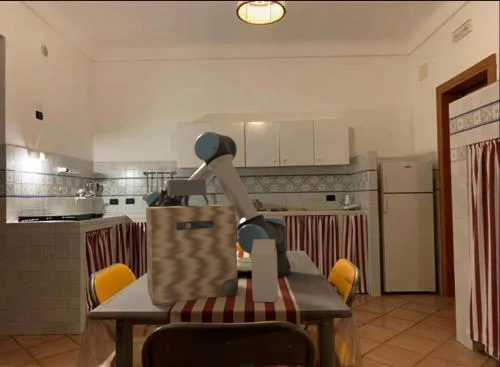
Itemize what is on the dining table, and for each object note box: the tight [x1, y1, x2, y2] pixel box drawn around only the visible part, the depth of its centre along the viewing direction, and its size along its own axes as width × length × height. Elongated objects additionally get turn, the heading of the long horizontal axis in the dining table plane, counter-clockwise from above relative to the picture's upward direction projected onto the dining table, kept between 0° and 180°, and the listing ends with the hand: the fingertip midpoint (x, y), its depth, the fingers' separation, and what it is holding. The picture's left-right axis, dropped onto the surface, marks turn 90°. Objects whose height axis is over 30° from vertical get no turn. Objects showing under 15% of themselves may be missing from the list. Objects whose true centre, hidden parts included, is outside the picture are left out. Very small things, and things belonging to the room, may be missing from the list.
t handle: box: [166, 179, 207, 196], centre depth 135 cm, size 12×30×5 cm, turn 21°
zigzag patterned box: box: [145, 204, 239, 305], centre depth 128 cm, size 28×20×30 cm
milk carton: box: [250, 239, 279, 303], centre depth 118 cm, size 7×7×19 cm
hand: (178, 182), depth 139 cm, fingers closed on t handle, 3 cm apart
